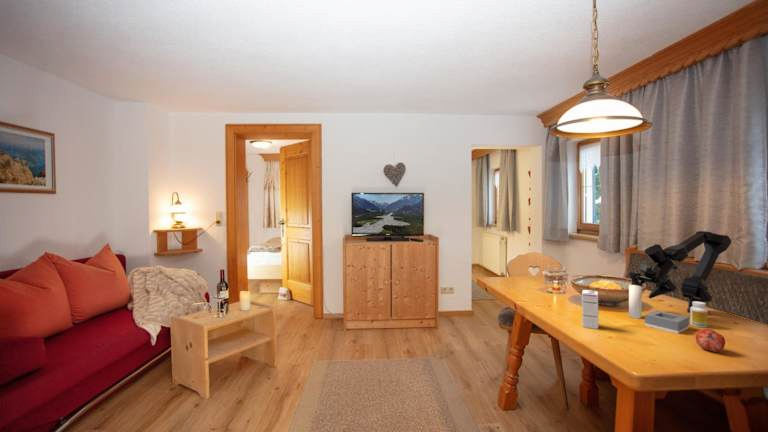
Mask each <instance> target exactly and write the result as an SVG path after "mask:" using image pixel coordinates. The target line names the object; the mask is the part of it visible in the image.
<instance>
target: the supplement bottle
mask: <svg viewBox="0 0 768 432" xmlns="http://www.w3.org/2000/svg"><path fill="white" fill-rule="evenodd" d="M692 305H693V306H692V307H690V312H689V325H691V326H693V327H696V328H703V329H705V328H708V316H709V315H708V314H709V313H708V309H707V308H706V302H705V303H703V302H698V301H693V302H692Z"/></svg>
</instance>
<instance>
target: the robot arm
mask: <svg viewBox="0 0 768 432" xmlns="http://www.w3.org/2000/svg"><path fill="white" fill-rule="evenodd" d="M731 244H732V239H731V238H730V237H729V236H728V235H727V234H717V233H715V232H711V231H704V230H698V231H696V232H695V233H694V234H693V235H691V236H690V237H688V238H687V239H685V240H683V241H682V242H680V243H678V244H675V245H670V246H668V247H665V248H664V249H663V247H662V246H661V245H660V244H657V243H655V244H654V245H652V246H651V245H650V246H649V247H647V248H646V249H645V250H644V253H645V255H646V256H647V257H648V258H649V260H650V261H651V262H652V263H655V264H652V265H649V264H644V263H639V265H638V267H637V271H640V272H642V274H641V273H640V272H636V271H630V272H629V273H628V277H629V278H630V279H631V285H638V286H642V287H643V284H645V283H649V284H652V285H655V286H654V288H653V290H652V291H651V292H650V293H649V295H648V297H647V298H649V299H652V298H655V297H656V298H657V297H658V296H662V295H664V294H670V293H674V292H675V291H676V290H677V286H676V285H675V283H674V282H673V281H672V280H671V279H669V276H668V274H669V273H670V272H671V271H672V270H675V271H676V270H678V266H677V263H674V262H678V263H679V262H680V263H681V262H683V261H685V260H686V259H687V258H688V256H689V253H690V252H691V251H693V250H695V249H696V248H698V247H699V246H701V245H703V246H704V252H703V254H702V256H701V258H700V260H699V262H698V264H697V266H696V268H695V270H694V272H693V274H692V275H691V276H690V277H687V276H686V277H684V279H683V281H682V282H681V284H680V285H681V286H680V289H681V290H680V291H681V293H682V297H683V298H688V303H687V304H688V307H687V308H686V312H687V313H690V307H692V306H693V305H692V302H693V301H698V302H703V303H705V304H706V302H707V303H708V302H709V303H710V302H711V301H712V295H711V294H710V293H709V291H708V288H709V287H708V284H707V280H708V278H709V276H710V274H711V271H712V270H713V267H714V266H715V264H716V262H717V260H718V257H719V255H720V254H722V253H724V252H725V251H727V250H728V249H729V247H730V245H731ZM673 261H674V262H673Z"/></svg>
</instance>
